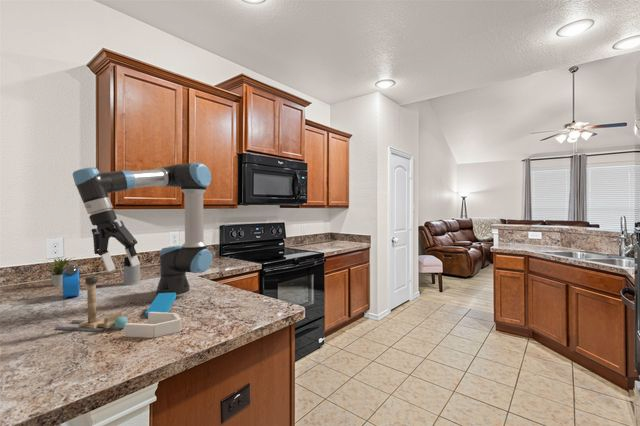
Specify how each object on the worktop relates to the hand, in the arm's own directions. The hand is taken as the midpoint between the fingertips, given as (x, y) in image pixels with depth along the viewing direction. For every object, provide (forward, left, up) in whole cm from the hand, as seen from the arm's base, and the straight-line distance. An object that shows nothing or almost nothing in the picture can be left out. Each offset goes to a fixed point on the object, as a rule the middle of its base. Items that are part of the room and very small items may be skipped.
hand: (123, 267), depth 110 cm
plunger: (+7, -3, -20) cm, 22 cm away
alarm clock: (+16, -60, -21) cm, 65 cm away
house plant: (+21, -94, -21) cm, 98 cm away
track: (+11, -6, -21) cm, 24 cm away
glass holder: (-9, -75, -21) cm, 78 cm away
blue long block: (-15, -10, -21) cm, 28 cm away
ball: (+1, +3, -19) cm, 19 cm away
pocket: (-9, +14, -21) cm, 26 cm away
